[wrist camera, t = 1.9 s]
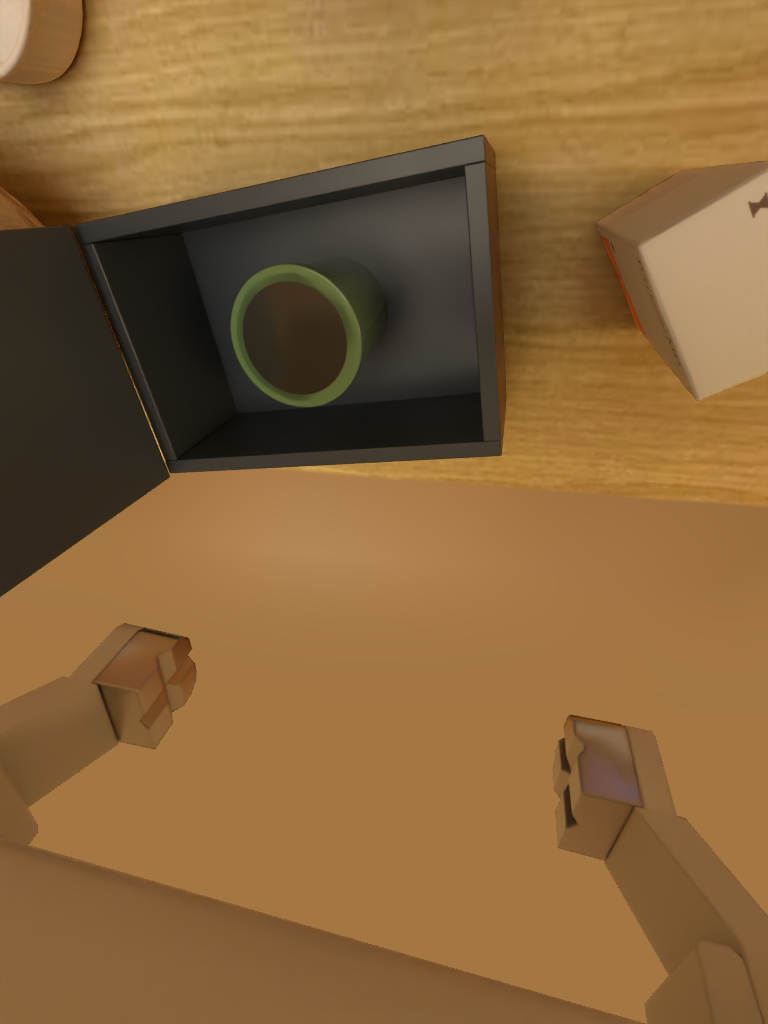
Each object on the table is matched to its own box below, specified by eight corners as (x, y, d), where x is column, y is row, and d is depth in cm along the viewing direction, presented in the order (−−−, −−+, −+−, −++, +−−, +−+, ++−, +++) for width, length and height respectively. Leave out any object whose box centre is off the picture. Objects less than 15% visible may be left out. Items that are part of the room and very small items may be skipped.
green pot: (383, 241, 28) (346, 253, 22) (401, 363, 31) (372, 402, 25) (272, 260, 30) (210, 276, 24) (300, 374, 33) (251, 413, 27)
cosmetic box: (591, 223, 26) (633, 240, 16) (682, 167, 24) (794, 147, 14) (635, 332, 28) (696, 406, 18) (722, 288, 26) (844, 345, 16)
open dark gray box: (494, 151, 25) (484, 134, 18) (506, 399, 31) (501, 456, 25) (173, 219, 30) (70, 225, 24) (236, 421, 37) (169, 473, 30)
